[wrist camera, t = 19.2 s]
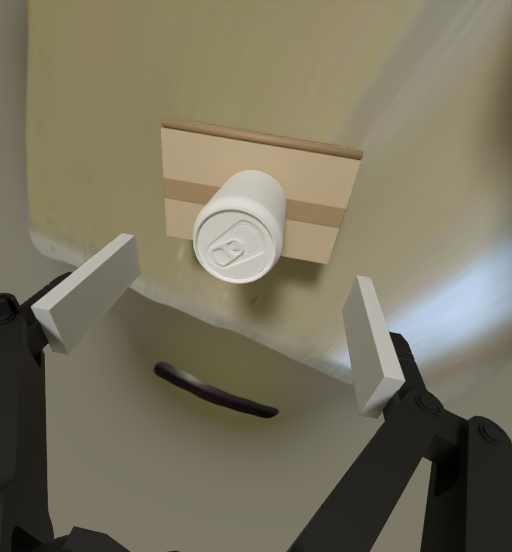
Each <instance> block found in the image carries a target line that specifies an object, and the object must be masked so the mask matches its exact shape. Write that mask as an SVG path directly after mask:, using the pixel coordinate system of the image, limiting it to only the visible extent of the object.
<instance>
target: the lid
mask: <svg viewBox="0 0 512 552" xmlns="http://www.w3.org/2000/svg"><path fill="white" fill-rule="evenodd" d="M161 124H162V126H164V127H170V128H176V129H182V130H188V131H194V132H200V133H206V134H212V135H218V136H224V137H230V138H236V139H242V140H248V141H254V142H260V143H266V144H272V145H278V146H284V147H290V148H296V149H302V150H308V151H314V152H320V153H326V154H332V155H338V156H344V157H350V158H356V159H362V156H363V151H359V150H353V149H347V148H341V147H335V146H329V145H323V144H317V143H310V142H304V141H298V140H292V139H286V138H280V137H274V136H268V135H262V134H256V133H250V132H244V131H238V130H232V129H226V128H220V127H213V126H207V125H201V124H195V123H189V122H183V121H177V120H171V119H165V118H162V120H161ZM164 127H163V128H161V139H162V157H163V175H164V178H163V182H164V197H165V212H166V230H167V236H173V237H178V238H184V239H189V240H193V227H194V223H195V220H196V218H197V216H198V214H199V213H200V211H201V210H202V209H203V208H204V206H205V205H206V204H207V203H208V202H209V201H210V200H211V198H212V197H213V196H214V195H215V194H216V193H217V191H218V190H219V189H220V188H221V187H222V186H223V185H224V183H225V182H226V181H227V180H228V179H229V178H230V177H232V176H233V175H235V174H236V173H239V172H241V171H246V170H256V171H261V172H264V173H266V174H268V175H270V176H271V177H273V178H274V179H275V180H276V181H277V182H278V183H279V184H280V186H281V187H282V189H283V191H284V194H285V197H286V218H285V229H284V239H283V248H282V252H281V255H280V256H284V257H290V258H296V259H301V260H307V261H312V262H318V263H324V264H328V262H329V259H330V256H331V253H332V250H333V246H334V243H335V240H336V237H337V234H338V231H339V228H340V226H341V223H342V220H343V217H344V214H345V211H346V207H347V204H348V201H349V198H350V195H351V192H352V189H353V185H354V182H355V179H356V176H357V173H358V170H359V167H360V164H361V160H356V159H350V158H344V157H338V156H332V155H326V154H320V153H314V152H308V151H302V150H296V149H290V148H284V147H278V146H272V145H266V144H260V143H254V142H248V141H242V140H236V139H230V138H224V137H218V136H212V135H206V134H200V133H194V132H188V131H182V130H176V129H170V128H164Z"/></svg>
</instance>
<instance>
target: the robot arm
mask: <svg viewBox="0 0 512 552" xmlns="http://www.w3.org/2000/svg"><path fill="white" fill-rule="evenodd" d="M139 275H140V267H139V260H138V254H137V248H136V242H135V236H134V235H129V234H123V233H122V234H121V235H119V236H118V237H117V238H116V239H114V240H113V241H112V242H111V243H109V244H108V245H107V246H106V247H104V248H103V249H102V250H101V251H99V252H98V253H97V254H96V255H94V256H93V257H92V258H91V259H89V260H88V261H87V262H86V263H84V264H83V265H82V266H81V267H80V268H78V269H77V270H76V271H75V272H67V273H65V274H63V275H61V276H58V277H57V278H55V279H54V280H53V281H52V282H50V284H49V285H46V286H45V287H44V288H43V289H42V290H40V291H39V292H37V293H36V294H35V295H33V296H32V297H31V298H29V299H28V300H27V301H26V302H24V303H23V304H22V305H19V303H18V301H17V299H16V298H15V296H14V295H12V294H9V293H0V552H130V551H129V550H127V549H126V548H125V547H123V546H122V545H120V544H119V543H118V542H116V541H115V540H114V539H112V538H111V537H110V536H108V535H107V534H104V533H100V532H96V531H92V530H88V529H83V528H79V527H75V526H74V527H73V529H72V531H71V533H70V535H66V536H62V537H58V538H56V539H54V532H53V527H52V523H51V520H50V516H49V512H48V492H47V445H46V399H45V354H44V352H43V348H44V347H45V346H46V345H47V344H48V343H49V345H50V347H51V349H52V351H53V352H57V353H62V354H67V355H69V354H70V353H71V352H72V350H73V349H74V348H75V347H76V346H77V345H78V343H80V341H81V340H82V339H83V338H84V337H85V336H86V335H87V334H88V332H89V331H90V330H91V329H92V328H93V327H94V326H95V324H96V323H97V322H98V321H99V320H100V319H101V318H102V316H103V315H104V314H105V313H106V312H107V311H108V310H109V309H110V307H111V306H112V305H113V304H114V303H115V302H116V301H117V299H118V298H119V297H120V296H121V295H122V294H123V293H124V292H125V290H126V289H127V288H128V287H129V286H130V285H131V284H132V282H133V281H134V280H135V279H136V278H137V277H138V276H139ZM342 312H343V319H344V325H345V331H346V337H347V343H348V349H349V355H350V362H351V368H352V374H353V380H354V386H355V392H356V398H357V404H358V411H359V415H362V416H367V417H372V418H378V417H379V416H380V414H381V413H382V412H383V415H384V419H385V422H384V423H383V425H382V426H381V427H380V428H379V429H378V431H377V432H376V434H375V435H374V436H373V438H372V439H371V440H370V442H369V443H368V444H367V446H366V447H365V448H364V450H363V451H362V452H361V454H360V455H359V456H358V458H357V459H356V460H355V462H354V463H353V464H352V466H351V467H350V468H349V470H348V471H347V472H346V474H345V475H344V476H343V477H342V479H341V480H340V481H339V483H338V484H337V485H336V487H335V488H334V489H333V491H332V492H331V493H330V495H329V496H328V497H327V499H326V500H325V501H324V503H323V504H322V505H321V507H320V508H319V509H318V511H317V512H316V513H315V515H314V516H313V517H312V519H311V520H310V521H309V523H308V524H307V525H306V527H305V528H304V529H303V531H302V532H301V533H300V535H299V536H298V537H297V539H296V540H295V541H294V542H293V544H292V545H291V547H290V548H289V549H288V550H287V552H370V550H371V548H372V546H373V544H374V543H375V541H376V539H377V538H378V536H379V534H380V532H381V530H382V529H383V527H384V525H385V523H386V521H387V520H388V518H389V516H390V514H391V512H392V510H393V509H394V507H395V505H396V503H397V501H398V500H399V498H400V496H401V494H402V493H403V491H404V489H405V487H406V485H407V483H408V482H409V480H410V478H411V477H412V475H413V473H414V471H415V469H416V468H417V466H418V464H419V462H420V460H421V458H422V457H424V458H426V459H428V460H430V461H432V466H431V473H430V481H429V489H428V496H427V504H426V512H425V519H424V527H423V535H422V542H421V550H420V552H512V443H511V440H510V438H509V437H508V436H507V434H506V433H505V431H504V430H503V429H501V428H500V426H498V425H497V424H496V423H494V422H493V421H491V420H490V419H487V418H485V417H482V416H474V417H472V418H470V419H469V420H466V419H464V418H461V417H459V416H457V415H455V414H453V413H451V412H449V411H447V410H445V409H444V408H443V405H442V404H441V402H440V401H439V400H438V399H437V398H436V397H435V396H434V395H433V394H432V393H430V392H428V391H427V389H426V387H425V384H424V382H423V379H422V377H421V374H420V372H419V369H418V367H417V364H416V362H415V359H414V357H413V354H411V353H412V352H411V349H410V347H409V344H408V342H407V341H406V340H405V339H404V338H403V337H402V335H401V334H398V333H393V332H389V331H388V328H387V325H386V322H385V319H384V316H383V313H382V311H381V308H380V305H379V302H378V299H377V296H376V293H375V290H374V287H373V284H372V281H371V278H368V277H363V276H356V279H355V281H354V284H353V286H352V289H351V291H350V293H349V296H348V298H347V301H346V303H345V306H344V308H343V311H342ZM170 552H178V551H170Z"/></svg>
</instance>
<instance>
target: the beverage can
mask: <svg viewBox="0 0 512 552" xmlns="http://www.w3.org/2000/svg"><path fill="white" fill-rule="evenodd" d="M285 218H286V197H285V194H284V191H283V189H282V187H281V186H280V184H279V183H278V182H277V181H276V180H275V179H274V178H273V177H271V176H270V175H268V174H266V173H264V172H261V171H256V170H246V171H241V172H239V173H236V174H235V175H233V176H232V177H230V178H229V179H228V180H227V181H226V182H225V183H224V185H223V186H222V187H221V188H220V189H219V190H218V191H217V193H216V194H215V195H214V196H213V197H212V198H211V200H210V201H209V202H208V203H207V204H206V205H205V206H204V208H203V209H202V210H201V211H200V213H199V214H198V216H197V218H196V220H195V223H194V227H193V246H194V251H195V254H196V257H197V259H198V261H199V262H200V264H201V265H202V266H203V267H204V269H205V270H206V271H208V272H209V273H210V274H211V275H213V276H214V277H216V278H218V279H220V280H223V281H225V282H229V283H237V284H242V283H249V282H252V281H255V280H257V279H259V278H261V277H262V276H264V275H265V274H266V273H267V272H268V271H270V270H271V269H272V268H273V267H274V265H275V264H276V263H277V261H278V259H279V257H280V255H281V252H282V248H283V239H284V229H285Z"/></svg>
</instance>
